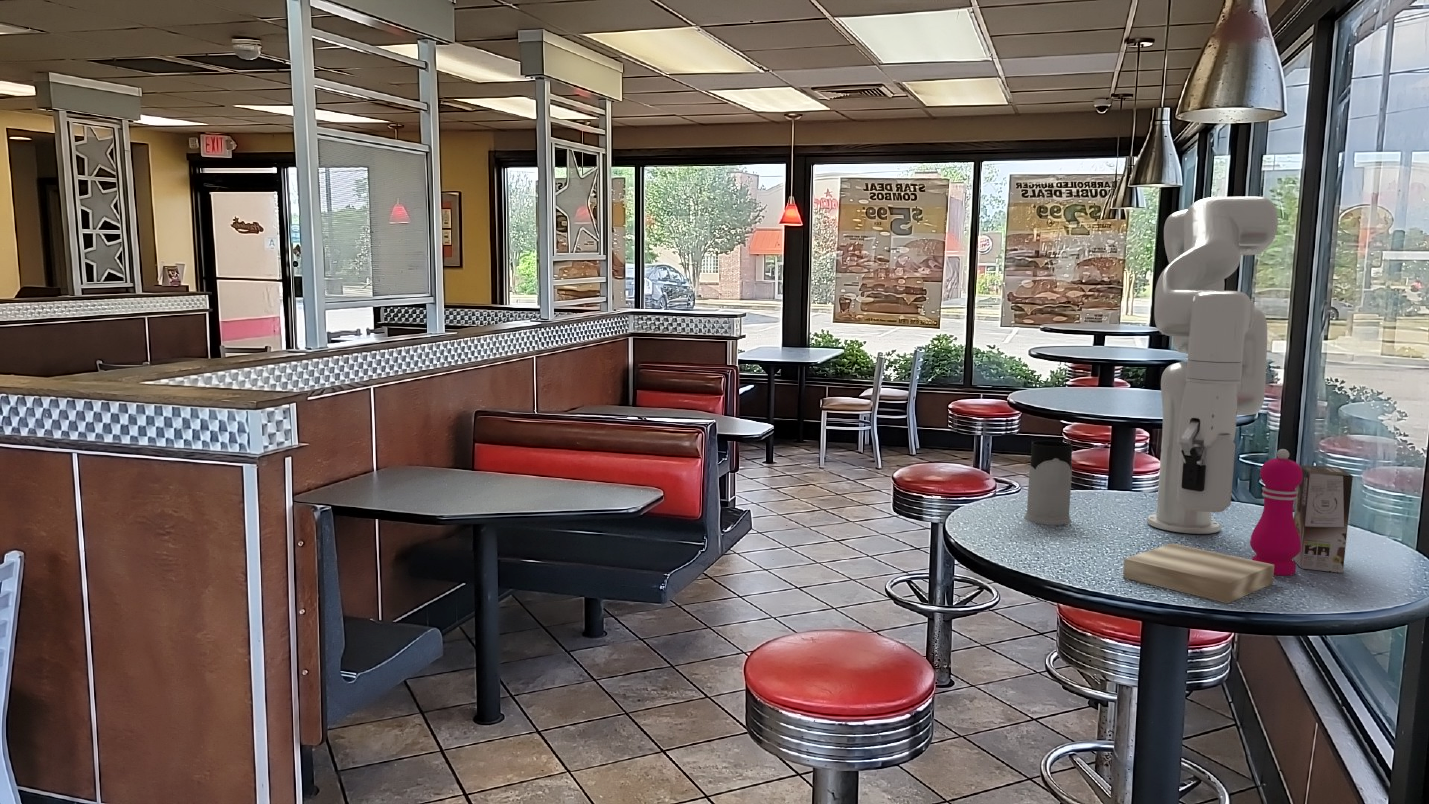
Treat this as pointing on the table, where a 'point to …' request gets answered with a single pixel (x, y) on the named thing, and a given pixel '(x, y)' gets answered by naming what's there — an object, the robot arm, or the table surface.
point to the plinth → (1199, 572)
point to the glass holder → (1049, 483)
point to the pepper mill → (1278, 515)
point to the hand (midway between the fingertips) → (1204, 486)
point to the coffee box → (1322, 517)
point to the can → (1211, 478)
